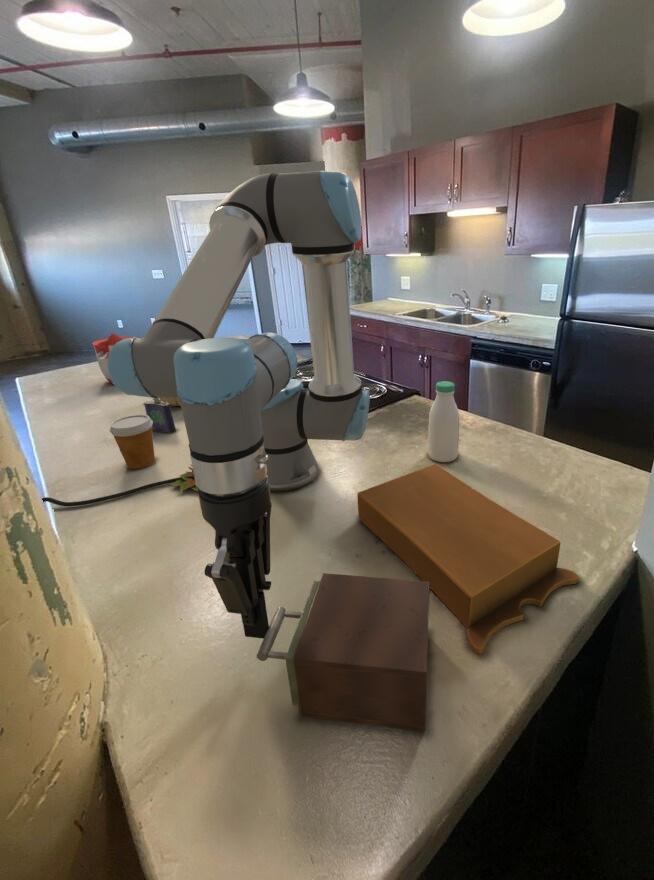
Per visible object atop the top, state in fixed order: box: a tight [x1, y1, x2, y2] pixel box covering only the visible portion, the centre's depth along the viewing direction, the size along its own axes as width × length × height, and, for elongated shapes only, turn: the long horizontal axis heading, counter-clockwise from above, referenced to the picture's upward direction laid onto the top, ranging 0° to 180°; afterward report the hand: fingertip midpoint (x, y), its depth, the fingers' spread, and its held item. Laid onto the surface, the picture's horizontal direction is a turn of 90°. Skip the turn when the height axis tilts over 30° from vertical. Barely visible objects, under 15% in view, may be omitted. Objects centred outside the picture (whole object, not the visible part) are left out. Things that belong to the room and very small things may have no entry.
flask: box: [143, 398, 177, 434], centre depth 126 cm, size 9×3×11 cm, turn 71°
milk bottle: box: [427, 380, 460, 463], centre depth 105 cm, size 8×8×20 cm
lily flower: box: [170, 464, 198, 493], centre depth 99 cm, size 12×12×5 cm
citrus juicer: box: [92, 332, 134, 384], centre depth 172 cm, size 16×17×20 cm
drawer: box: [256, 580, 320, 707], centre depth 53 cm, size 18×12×8 cm, turn 83°
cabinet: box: [293, 572, 430, 732], centre depth 53 cm, size 15×13×10 cm
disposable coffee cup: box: [109, 414, 156, 470], centre depth 106 cm, size 10×10×12 cm
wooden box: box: [356, 463, 580, 654], centre depth 75 cm, size 23×6×35 cm
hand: (257, 632), depth 55 cm, fingers closed
